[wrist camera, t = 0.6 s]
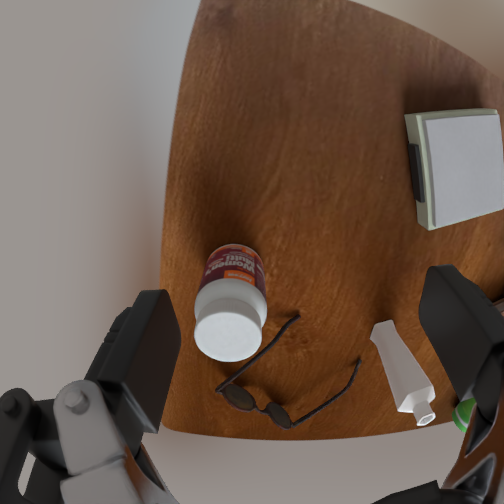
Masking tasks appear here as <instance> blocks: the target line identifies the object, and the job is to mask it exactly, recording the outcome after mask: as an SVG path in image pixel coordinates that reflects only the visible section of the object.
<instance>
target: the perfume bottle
mask: <svg viewBox="0 0 504 504" xmlns="http://www.w3.org/2000/svg"><path fill="white" fill-rule="evenodd" d="M370 339H371V340H372V341H373V342H374V343H375V344H376V346H377V349H378V351H379V354H380V357H381V360H382V363H383V366H384V369H385V372H386V375H387V378H388V381H389V384H390V387H391V390H392V394H393V397H394V400H395V403H396V407H397V410H398V411H399V412H411V413H414V416H415V418H416V420H417V425H426V424H427V423H429V422H430V421H432V420H433V419H434V418H435V413H434V412H432V410H431V407H430V405H429V403H430V402H431V401H432V400H433V399H434V398H435V392H434V388H433V385H432V383H431V382H430V380H429V379H428V377H427V376H426V374H425V373H424V371H423V370H422V368H421V367H420V365H419V364H418V362H417V361H416V359H415V358H414V356H413V355H412V353H411V352H410V351H409V349H408V348H407V346H406V345H405V343H404V342H403V340H402V339H401V338H400V336H399V335H398V333H397V331H396V328H395V325H394V323H393V320H387V321H384V322H381V323H377V324H375V325H374V328H373V330H372V333H371V336H370Z"/></svg>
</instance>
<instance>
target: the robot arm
mask: <svg viewBox="0 0 504 504" xmlns="http://www.w3.org/2000/svg"><path fill="white" fill-rule="evenodd" d="M419 320H420V323H421V326H422V327H423V329H424V331H425V333H426V335H427V336H428V338H429V340H430V342H431V344H432V346H433V348H434V349H435V351H436V353H437V355H438V357H439V359H440V361H441V363H442V365H443V367H444V369H445V371H446V373H447V375H448V377H449V379H450V381H451V383H452V385H453V387H454V390H455V392H456V394H457V396H458V398H459V400H460V402H462V401H465V400H467V399H470V398H473V397H474V399H475V401H476V403H475V404H474V406H473V408H472V411H471V415H470V419H469V423H468V427H467V430H466V434H465V437H464V441H463V444H462V447H461V450H460V453H459V457H458V459H457V461H456V463H455V465H454V467H453V468H452V470H451V471H450V473H449V474H448V476H447V477H446V479H445V481H444V483H443V485H442V487H441V489H439V487H438V483H437V480H435V481H432V482H429V483H426V484H423V485H420V486H417V487H414V488H411V489H407V490H404V491H400V492H397V493H393V494H390V495H388V496H386V497H385V498H382V499H380V500H378V501H376V502H374V503H372V504H504V317H503V316H502V314H501V313H500V312H499V310H498V309H497V308H496V307H495V306H493V303H492V302H491V301H490V300H489V298H486V295H485V294H484V292H483V291H482V290H481V289H480V288H479V287H478V285H476V284H474V283H473V282H471V281H470V280H468V279H467V278H465V277H463V275H462V274H461V273H460V272H459V271H458V270H457V269H456V268H455V266H453V265H452V264H445V265H438V266H431V267H429V269H428V271H427V274H426V278H425V283H424V288H423V292H422V296H421V301H420V305H419ZM180 346H181V332H180V327H179V324H178V321H177V318H176V315H175V312H174V309H173V306H172V303H171V299H170V296H169V294H168V292H167V291H166V290H165V289H162V290H143V291H141V292H140V293H139V295H138V297H137V299H136V301H135V302H134V304H133V306H132V307H127V308H126V309H125V310H124V311H123V312H122V313H121V314H120V315H118V316H117V317H116V319H115V321H114V322H113V324H112V326H111V328H110V332H108V333H107V336H106V337H105V339H104V343H102V345H101V347H100V348H99V350H98V352H97V354H96V356H95V358H94V360H93V362H92V364H91V366H90V368H89V370H88V372H87V374H86V376H85V378H84V380H78V381H74V382H72V383H69V384H68V385H66V386H65V387H64V388H63V389H62V390H60V392H59V393H58V394H57V396H56V398H55V399H49V400H41V401H34V400H33V399H32V397H31V396H30V395H29V394H28V393H27V392H26V391H25V390H24V389H21V388H14V389H11V390H9V391H7V392H6V393H4V394H3V395H2V396H1V398H0V504H179V503H178V502H177V501H176V499H175V498H174V497H173V495H172V494H171V493H170V491H169V490H168V488H167V486H166V485H165V483H164V481H163V480H162V478H161V476H160V475H159V473H158V471H157V470H156V468H155V466H154V464H153V462H152V460H151V459H150V457H149V455H148V453H147V451H146V449H145V447H144V445H143V444H142V442H141V440H142V436H143V432H148V433H158V430H159V426H160V422H161V418H162V414H163V410H164V406H165V402H166V398H167V394H168V391H169V387H170V383H171V379H172V376H173V372H174V368H175V365H176V361H177V357H178V354H179V350H180ZM28 452H29V453H31V454H32V455H33V456H34V457H35V458H36V460H35V462H34V466H33V468H32V472H31V475H30V478H29V481H28V485H27V488H26V491H25V494H24V495H23V496H22V495H21V494H20V492H19V489H18V480H19V477H20V474H21V471H22V468H23V465H24V462H25V459H26V456H27V453H28Z"/></svg>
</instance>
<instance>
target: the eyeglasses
mask: <svg viewBox="0 0 504 504" xmlns="http://www.w3.org/2000/svg"><path fill="white" fill-rule="evenodd" d="M300 318H301V316H300V315H299V314H298V315H296V316H295V317H293V318H292V319H290V320H289V321H288V322H286V323H285V324H284V326H283V327H282V328H281V329H280V331H279V332H278V334H277V335H276V336H275V338H274V339H273V340H272V341H271V342H270V343H269V344H268V345H267V346H266V347H265V348H264V349H263V350H262V351H261V352H259V353H258V354H257V355H256V356H255V357H254V358H252V359H251V360H250V361H249V362H248V363H246V364H245V365H244V366H243V367H241V368H240V369H239V370H238V371H236V372H235V373H234V374H233V375H231V376H230V377H229V378H227V379H226V380H225V381H224V382H222V383H221V384H220V385H219V386H218V387H217V388H216V389H215V392H216V393H218V394H221V395H223V397H224V398H225V400H226V401H227V402H228V403H229V404H230V405H231V406H232V407H234V408H235V409H237V410H239V411H242V412H251V411H252V410H254V409H255V410H256V411H257V412H259V413H261V414H265V415H269V416H270V418H271V419H272V420H273V422H274V423H275V424H276V425H277V426H278V427H280V428H281V429H284V430H288V429H290V428H291V427H293V428H295V427H296V426H298V425H299V424H301V423H302V422H304V421H306V420H307V419H309V418H310V417H312V416H313V415H315V414H316V413H318V412H319V411H321V410H322V409H324V408H325V407H326V406H328V405H329V404H331V403H332V402H333V401H335V400H336V399H337V398H339V397H340V396H341V395H343V394H344V393H345V392H346V391H347V390H348V389H349V388H350V386H351V385H352V383H353V381H354V379H355V377H356V374H357V371H358V368H359V366H360V364H361V362H362V361H361V359H359V360H358V362H357V364H356V366H355V369H354V372H353V374H352V376H351V378H350V380H349V382H348V384H347V386H346V387H345V388H344V389H343V390H342V391H341V392H339V393H338V394H337V395H335V396H334V397H333V398H331V399H330V400H328V401H327V402H325V403H324V404H322V405H321V406H319V407H318V408H316V409H314V410H313V411H311V412H310V413H308V414H306V415H305V416H303V417H302V418H300V419H298V420H297V421H295V422H294V423H293V422H292V421H291V419H290V417H289V415H288V413H287V412H286V411H285V410H284V409H283V408H282V407H281V406H280V405H279V404H277V403H275V402H270V403H268V404H267V406H266V408H265V409H264V410H259V409H258V407H257V405H256V402H255V399H254V398H253V396H252V395H251V394H250V393H249V392H248V391H247V390H245V389H244V388H242V387H241V386H239V385H236V384H229V383H230V382H232V381H233V380H234V379H235V378H237V377H238V376H239V375H240V374H241V373H243V372H244V371H245V370H246V369H247V368H249V367H250V366H251V365H252V364H253V363H254V362H256V361H257V360H258V359H259V358H260V357H261V356H263V355H264V354H265V353H266V352H267V351H268V350H269V349H270V348H271V347H272V346H273V345H274V344H275V343H276V342H277V341H278V340H279V338H280V337H281V336H282V334H283V333H284V332H285V330H286V329H287V328H288V327H289V326H290V325H291V324H292V323H294V322H295V321H297V320H299V319H300Z"/></svg>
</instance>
